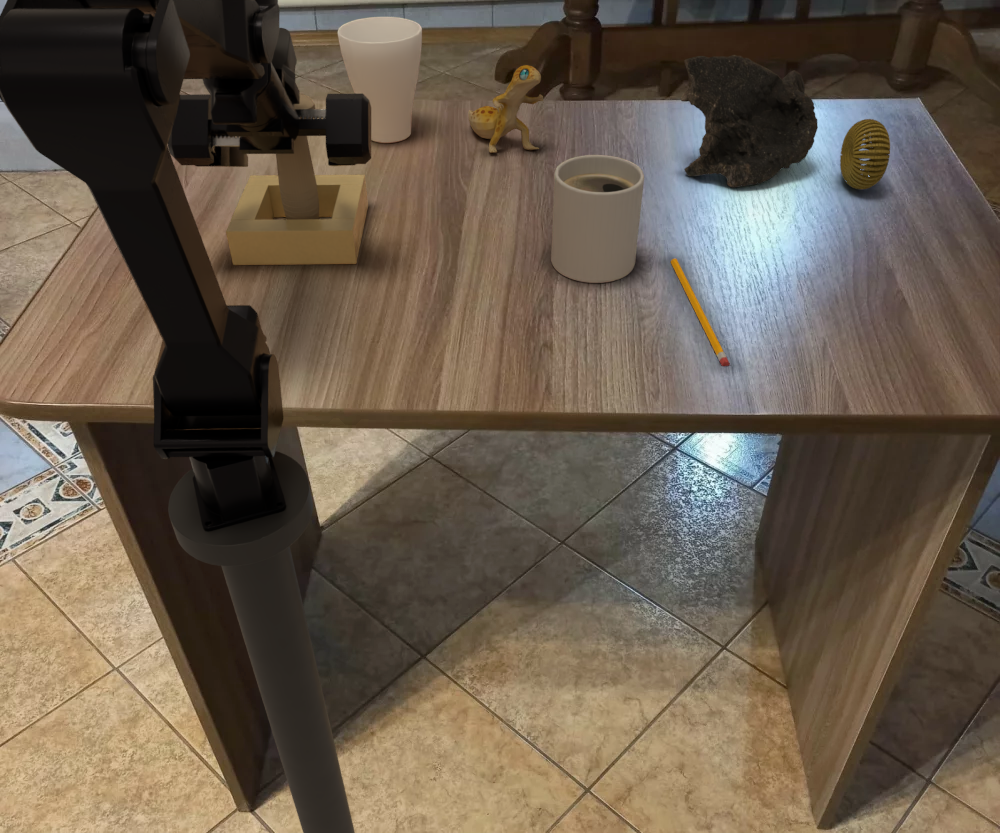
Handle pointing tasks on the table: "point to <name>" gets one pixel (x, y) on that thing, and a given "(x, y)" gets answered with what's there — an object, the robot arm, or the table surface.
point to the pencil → (700, 314)
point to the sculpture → (865, 154)
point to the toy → (507, 109)
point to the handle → (298, 176)
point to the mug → (596, 217)
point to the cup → (384, 70)
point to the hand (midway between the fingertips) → (290, 161)
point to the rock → (748, 119)
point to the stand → (298, 224)
